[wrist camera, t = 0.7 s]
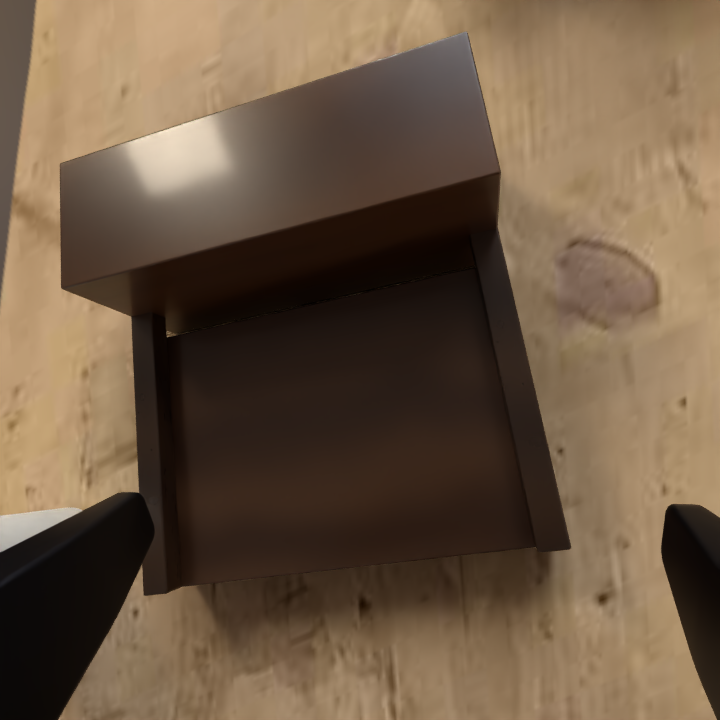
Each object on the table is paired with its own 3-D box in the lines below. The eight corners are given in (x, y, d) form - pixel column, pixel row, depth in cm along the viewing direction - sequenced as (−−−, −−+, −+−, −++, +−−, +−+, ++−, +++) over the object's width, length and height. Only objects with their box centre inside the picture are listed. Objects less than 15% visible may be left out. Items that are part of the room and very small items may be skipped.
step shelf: (557, 534, 22) (598, 576, 14) (190, 576, 25) (63, 629, 18) (472, 155, 26) (467, 29, 18) (168, 238, 30) (59, 162, 22)
